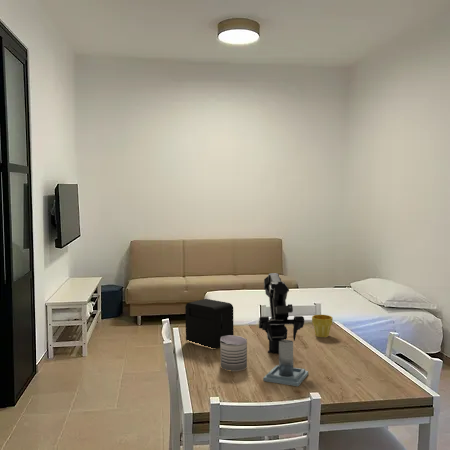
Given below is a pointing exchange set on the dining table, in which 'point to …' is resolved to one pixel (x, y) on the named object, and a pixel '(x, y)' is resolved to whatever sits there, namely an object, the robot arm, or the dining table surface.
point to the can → (233, 352)
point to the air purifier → (208, 321)
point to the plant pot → (322, 325)
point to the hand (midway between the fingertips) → (283, 340)
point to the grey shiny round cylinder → (286, 358)
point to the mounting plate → (292, 380)
